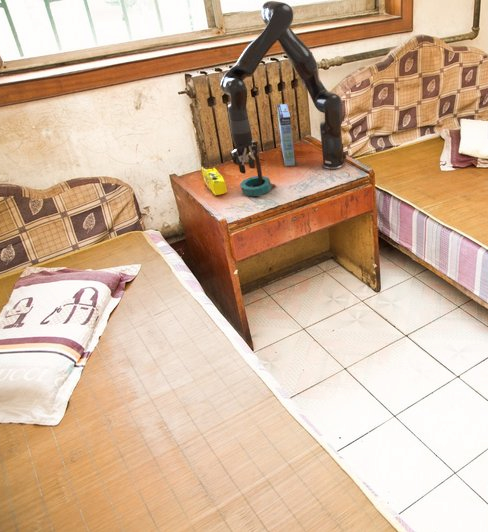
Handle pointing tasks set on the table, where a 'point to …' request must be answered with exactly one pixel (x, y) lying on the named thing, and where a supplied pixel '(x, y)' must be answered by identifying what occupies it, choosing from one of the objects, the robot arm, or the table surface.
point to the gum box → (286, 134)
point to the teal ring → (255, 190)
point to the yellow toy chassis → (214, 181)
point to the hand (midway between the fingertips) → (247, 170)
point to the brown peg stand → (260, 173)
